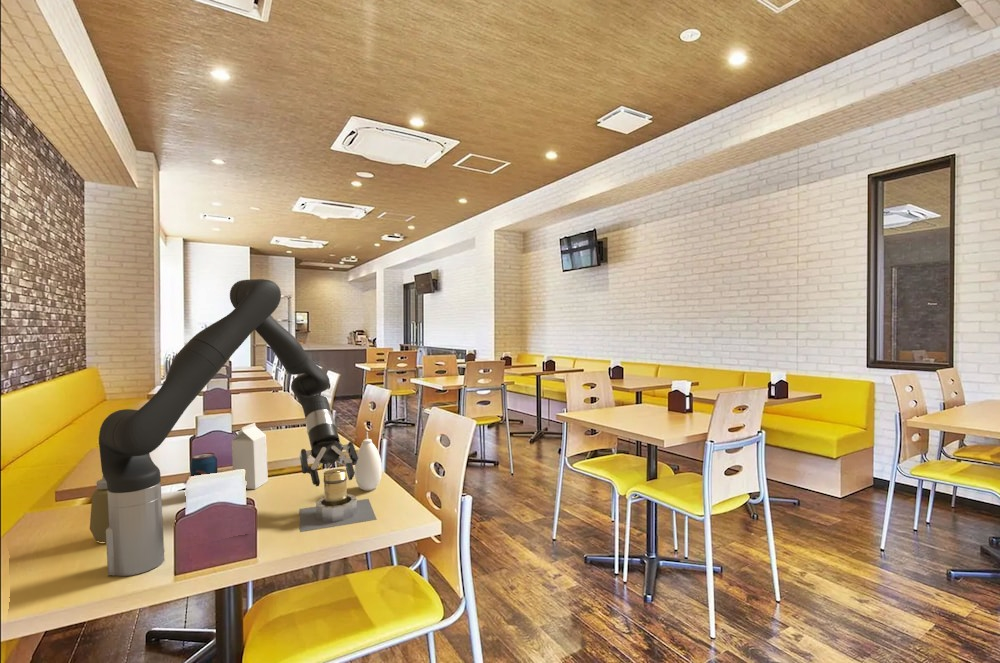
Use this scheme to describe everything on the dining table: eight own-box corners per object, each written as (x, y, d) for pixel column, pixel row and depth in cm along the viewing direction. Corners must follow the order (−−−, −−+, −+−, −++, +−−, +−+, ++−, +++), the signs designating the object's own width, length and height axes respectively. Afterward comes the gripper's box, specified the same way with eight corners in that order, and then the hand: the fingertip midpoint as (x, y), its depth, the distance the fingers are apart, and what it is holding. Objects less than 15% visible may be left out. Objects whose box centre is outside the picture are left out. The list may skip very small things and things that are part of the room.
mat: (300, 535, 123) (299, 532, 123) (299, 511, 138) (299, 508, 138) (376, 522, 130) (376, 519, 130) (368, 501, 145) (368, 498, 145)
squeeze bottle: (97, 535, 126) (94, 462, 126) (136, 529, 129) (133, 458, 129) (84, 549, 119) (80, 471, 118) (126, 542, 122) (122, 466, 121)
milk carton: (268, 481, 164) (265, 422, 164) (255, 489, 157) (252, 427, 157) (247, 481, 165) (244, 422, 164) (233, 489, 158) (230, 427, 157)
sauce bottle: (385, 486, 157) (383, 427, 157) (378, 495, 150) (376, 433, 149) (360, 486, 158) (358, 428, 157) (351, 495, 150) (349, 434, 149)
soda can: (186, 499, 150) (184, 458, 149) (201, 491, 157) (199, 452, 156) (208, 499, 149) (207, 458, 149) (223, 491, 156) (221, 452, 156)
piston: (325, 519, 131) (323, 476, 130) (324, 511, 136) (322, 470, 135) (348, 516, 133) (347, 473, 132) (346, 508, 138) (345, 467, 137)
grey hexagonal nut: (317, 524, 128) (316, 510, 128) (315, 510, 137) (315, 497, 137) (358, 517, 131) (358, 504, 131) (354, 504, 141) (354, 491, 140)
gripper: (296, 425, 137) (308, 479, 128) (350, 418, 145) (364, 468, 136) (293, 441, 142) (304, 494, 133) (345, 434, 150) (359, 483, 141)
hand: (334, 481), depth 134 cm, fingers open, 8 cm apart
